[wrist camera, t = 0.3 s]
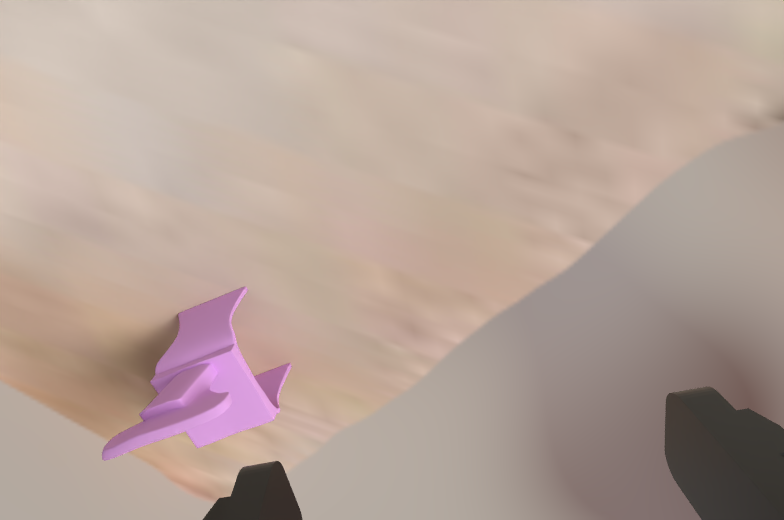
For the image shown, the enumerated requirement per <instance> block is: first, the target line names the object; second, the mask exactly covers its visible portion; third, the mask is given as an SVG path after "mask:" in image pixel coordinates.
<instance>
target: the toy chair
mask: <svg viewBox="0 0 784 520" xmlns="http://www.w3.org/2000/svg"><path fill="white" fill-rule="evenodd" d="M247 290H248V289H247V288H246V287H242V288H240V289H237V290H235V291H232V292H230V293H228V294H225V295H223V296H220V297H218V298H215V299H213V300H210V301H208V302H205V303H203V304H200V305H198V306H195V307H193V308H190V309H188V310H185V311H183V312H181V313H179V314H178V317H179V324H180V325H179V332H178V335H177V337H176V339H175V341H174V342H173V343H172V345H171V346H170V347H169V349H168V350H167V351H166V352H165V354H164V355H163V356H162V357H161V359H160V360H159V362H158V363H157V365H156V368H155V374H156V375H155V376H154V377H153V379H152V380H151V381H150V383H151V384H152V386H153V387H154V388H155V390H156V391H157V393H158V395H157V396H156V397H155V398H154V400H153V401H152V402H151V403H150V404H149V405H148V406H147V407H146V408H145V409H144V410H143V411H142V412H141V413H140V414H139V415H140V416H141V418H142V419H143V420H144V421H143V422H141V423H139V424H137V425H135V426H133V427H131V428H129V429H127V430H125V431H123V432H121V433H119V434H118V435H116V436H115V437H113V438H112V439H111V440H110V441H109V442H108V443H107V444H106V445H105V447H104V449H103V452H102V459H103V460H109V459H112V458H115V457H118V456H120V455H123V454H125V453H127V452H130V451H132V450H134V449H137V448H139V447H142V446H145V445H147V444H150V443H153V442H156V441H160V440H163V439H165V438H168V437H171V436H174V435H177V434H180V433H182V432H185V431H186V433H187V434H188V436H189V437H190V439H191V440H192V442H193V443H194V444H195V446H196V447H197V448H199V447H202V446H205V445H208V444H210V443H213V442H215V441H218V440H220V439H223V438H225V437H227V436H230V435H233V434H235V433H238V432H241V431H244V430H247V429H250V428H253V427H256V426H260V425H262V424H265V423H268V422H270V421H273V420H274V419H275V416H276V414H277V413H279V412H280V408H279V401H278V400H279V394H280V391H281V388H282V386H283V383H284V381H285V379H286V377H287V375H288V373H289V371H290V369H291V367H292V366H291V364H290V363H288V364H285V365H283V366H280V367H277V368H275V369H272V370H270V371H267V372H264V373H262V374H259V375H256V376H253V374H252V372H251V371H250V369H249V367H248V365H247V363H246V361H245V360H244V358H243V356H242V354H241V352H240V350H239V348H238V345H237V342H236V337H235V333H234V331H233V328H232V324H231V320H232V316H233V313H234V311H235V309H236V307H237V306H238V304H239V302H240V301H241V299H242V298H243V296H244V295H245V294H246V292H247Z"/></svg>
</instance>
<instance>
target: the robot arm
mask: <svg viewBox="0 0 784 520" xmlns="http://www.w3.org/2000/svg"><path fill="white" fill-rule="evenodd" d="M665 418H666V419H665V455H666V460H667V463H668V466H669V469H670V471H671V474H672V476H673V478H674V480H675V481H676V483H677V484H678V486H679V487H680V489H681V490H682V492H683V493H684V495H685V496H686V497H687V499H688V500H689V502H690V503H691V505H692V506H693V508H694V509H695V511H696V512H697V513H698V515H699V516H700V518H701V519H702V520H784V429H783V428H782V427H781V426H779V425H778V424H776V423H774V422H772V421H770V420H768V419H767V418H765V417H763V416H761V415H759V414H757V413H756V412H754V411H752V410H750V409H743V410H737V411H736V410H735V409H734V408H733V407H732V406H731V405H730V404H729V403H728V402H727V401H726V400H725V399H724V398H723V397H722V396H721V395H720V394H719V393H718V392H717V391H716V390H715V389H713V388H711V387H703V388H697V389H691V390H686V391H680V392H674V393H669V394H668V396H667V398H666V417H665ZM203 520H302V515H301V511H300V508H299V506H298V503H297V501H296V498H295V496H294V493H293V491H292V488H291V486H290V483H289V481H288V478H287V476H286V473H285V471H284V468H283V466H282V464H281V463H280V462H279V461H275V462H269V463H263V464H258V465H252V466H246V467H243V468H242V469H241V470H240V472H239V474H238V476H237V479H236V482H235V485H234V488H233V491H232V494H231V496H230V497H224V498H219V499H218V500H217V501H216V503H215V504H214V505H213V507H212V508H211V509H210V511H209V512H208V514H207V515H206V516H205V518H204V519H203Z"/></svg>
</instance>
